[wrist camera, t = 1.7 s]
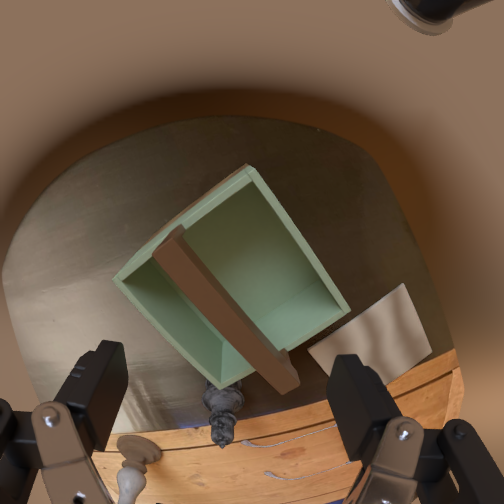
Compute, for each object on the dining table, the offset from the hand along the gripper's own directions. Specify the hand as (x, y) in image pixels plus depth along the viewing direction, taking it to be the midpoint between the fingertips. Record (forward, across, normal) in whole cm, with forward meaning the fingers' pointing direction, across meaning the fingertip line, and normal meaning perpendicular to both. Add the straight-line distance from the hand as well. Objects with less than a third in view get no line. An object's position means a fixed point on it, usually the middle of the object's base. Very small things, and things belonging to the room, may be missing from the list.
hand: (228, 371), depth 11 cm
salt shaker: (+25, 0, +24) cm, 35 cm away
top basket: (+18, 0, +2) cm, 18 cm away
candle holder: (+25, +15, +44) cm, 53 cm away
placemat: (+25, -23, +18) cm, 38 cm away
